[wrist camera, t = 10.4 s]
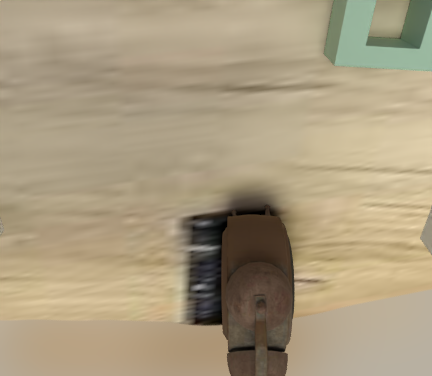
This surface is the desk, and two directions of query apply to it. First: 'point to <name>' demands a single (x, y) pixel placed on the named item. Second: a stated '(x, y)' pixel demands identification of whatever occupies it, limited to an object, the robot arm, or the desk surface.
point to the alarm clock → (257, 294)
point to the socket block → (377, 46)
